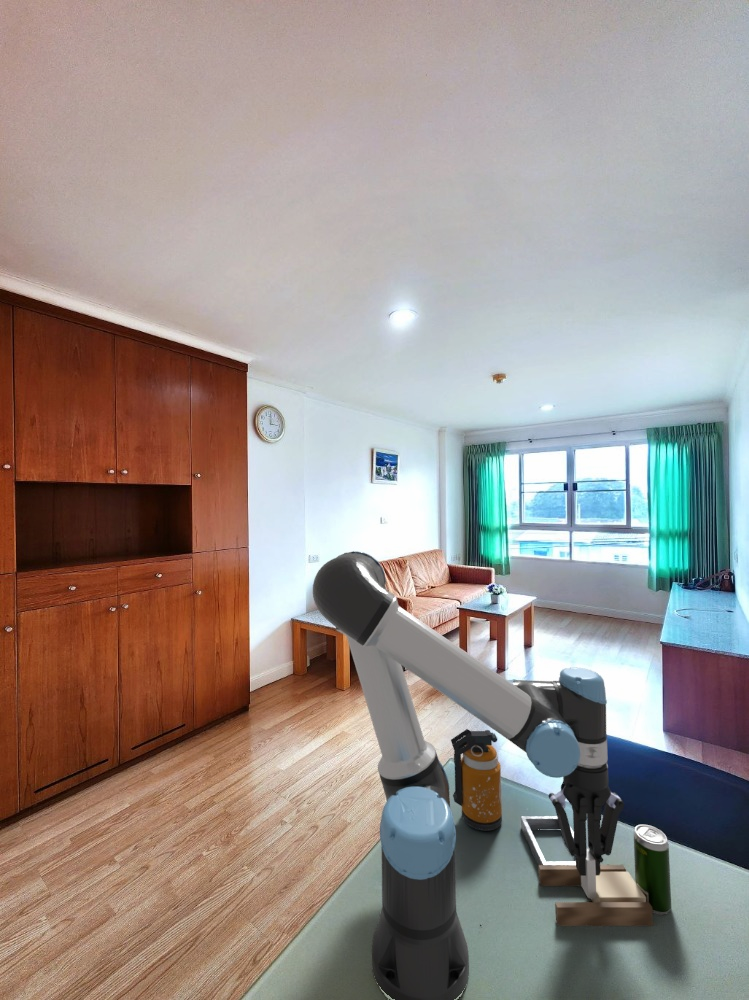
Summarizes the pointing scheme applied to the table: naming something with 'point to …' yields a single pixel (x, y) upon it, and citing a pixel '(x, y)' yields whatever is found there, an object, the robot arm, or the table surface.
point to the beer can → (653, 867)
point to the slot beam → (593, 910)
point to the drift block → (617, 888)
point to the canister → (478, 779)
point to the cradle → (539, 823)
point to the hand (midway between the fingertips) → (588, 891)
